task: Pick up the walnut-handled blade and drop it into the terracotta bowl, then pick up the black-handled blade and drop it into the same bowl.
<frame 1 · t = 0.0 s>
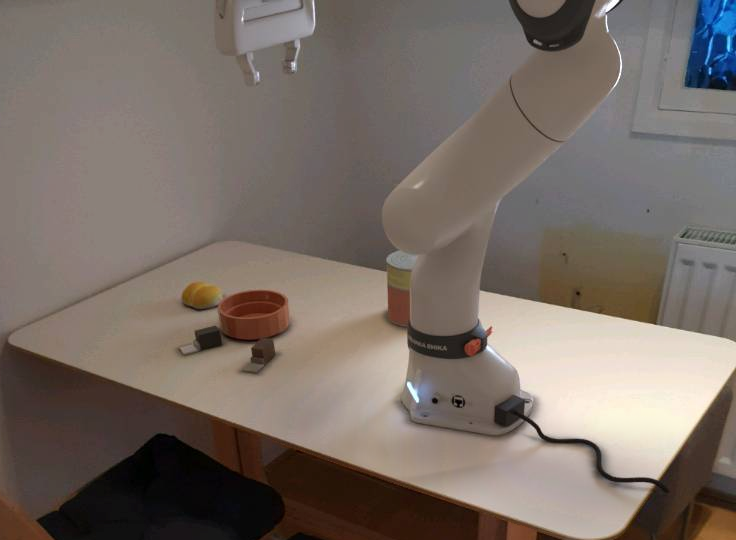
hand: (271, 79, 126), 48 cm above the table, tool pointing down, fingers open, 8 cm apart
bread roll: (203, 302, 180), on the table
walnut blade: (264, 358, 157), on the table
bowl: (255, 326, 168), on the table
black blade: (209, 345, 162), on the table
canned food: (415, 316, 169), on the table
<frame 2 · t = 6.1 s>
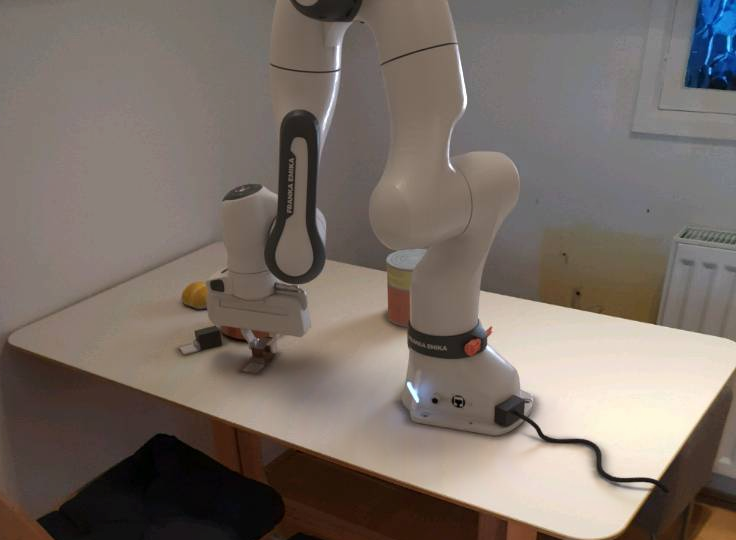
hand: (263, 350, 155), 2 cm above the table, tool pointing down, fingers closed on walnut blade, 2 cm apart
walnut blade: (264, 358, 157), on the table, touching gripper
everything else where it was.
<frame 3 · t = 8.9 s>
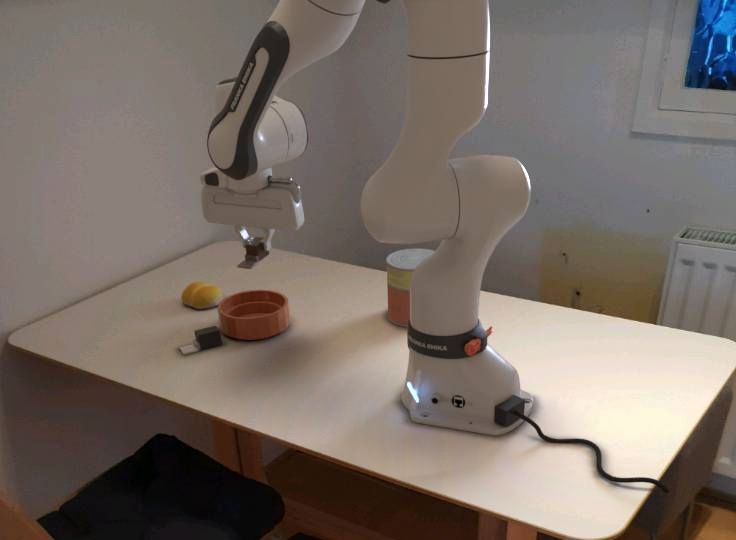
hand: (257, 248, 158), 16 cm above the table, tool pointing down, fingers closed on walnut blade, 2 cm apart
walnut blade: (258, 257, 159), point 14 cm above the table, touching gripper
everything else where it was.
when the fingers open (5 cm above the table, at t = 11.7 s): walnut blade drops 2 cm, resting on bowl.
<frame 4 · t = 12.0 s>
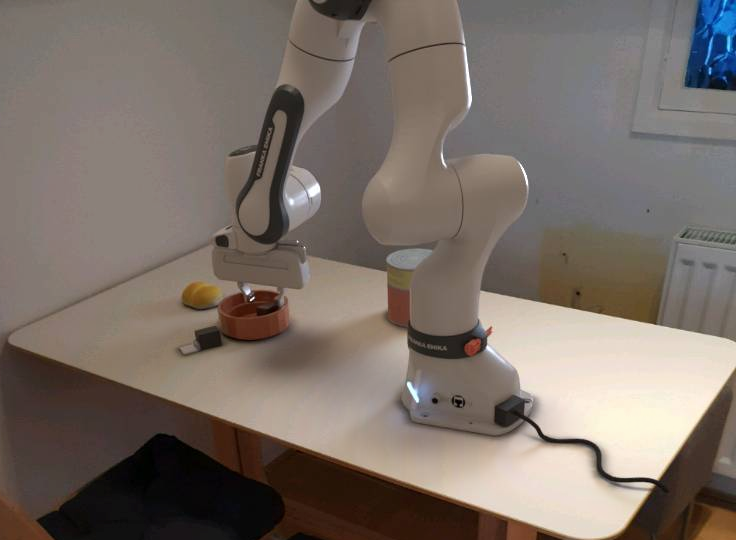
hand: (264, 303, 166), 5 cm above the table, tool pointing down, fingers open, 5 cm apart
walnut blade: (267, 320, 168), point 1 cm above the table, tilted 9°, touching bowl
everything else where it was.
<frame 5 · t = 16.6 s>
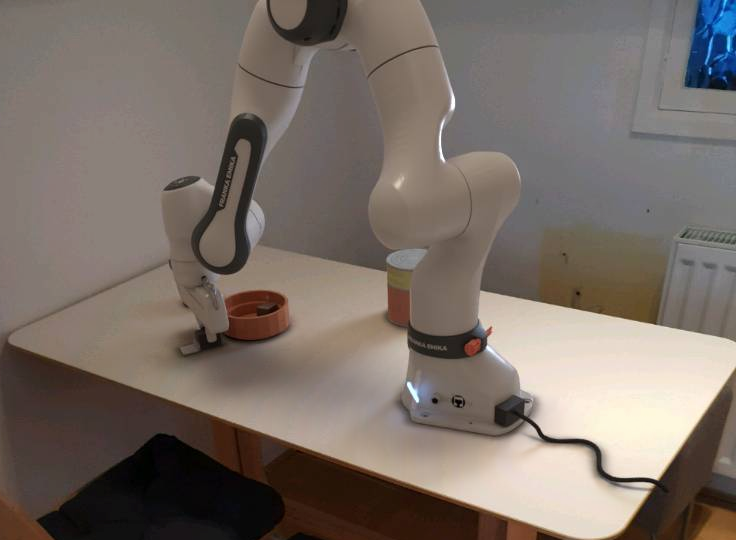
hand: (208, 336, 161), 2 cm above the table, tool pointing down, fingers closed on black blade, 2 cm apart
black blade: (209, 345, 162), on the table, touching gripper
everything else where it was.
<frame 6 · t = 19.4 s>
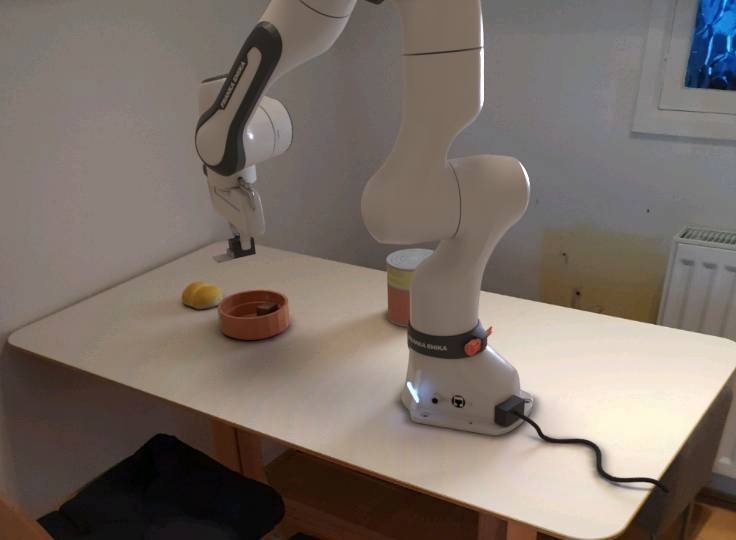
hand: (242, 245, 159), 16 cm above the table, tool pointing down, fingers closed on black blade, 2 cm apart
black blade: (243, 254, 160), point 15 cm above the table, touching gripper
everything else where it was.
when the fingers open (6 cm above the table, at t = 22.0 s): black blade stays where it is, resting on walnut blade.
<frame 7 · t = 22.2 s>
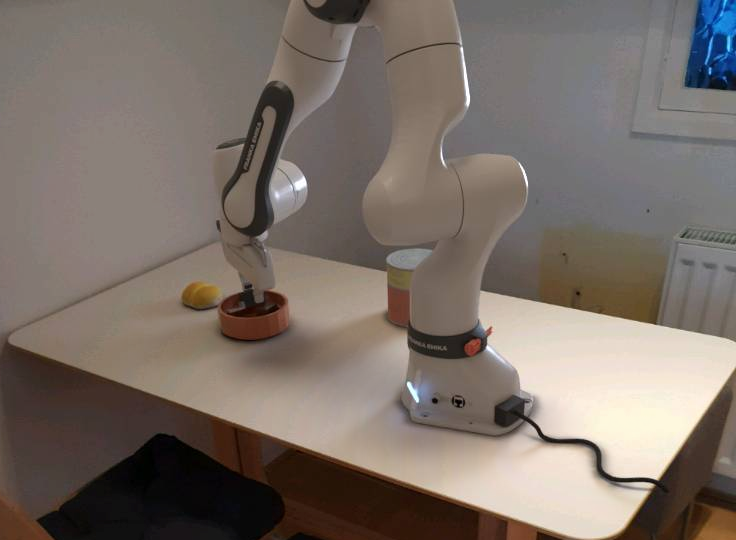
hand: (253, 296, 167), 5 cm above the table, tool pointing down, fingers open, 5 cm apart
walnut blade: (267, 321, 168), point 1 cm above the table, tilted 7°, touching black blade, bowl
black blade: (254, 305, 168), point 4 cm above the table, tilted 21°, touching gripper, walnut blade
everything else where it was.
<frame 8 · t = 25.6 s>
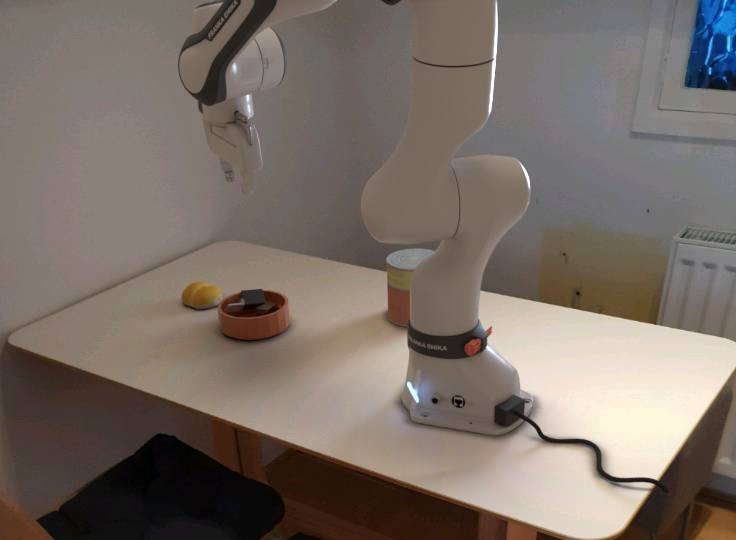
hand: (238, 187, 153), 27 cm above the table, tool pointing down, fingers open, 8 cm apart
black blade: (254, 306, 168), point 3 cm above the table, tilted 47°, touching bowl, walnut blade
everything else where it was.
at the end: walnut blade inside the target area in the bowl (2.6 cm from its centre), point 0.9 cm above the bowl's base; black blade inside the target area in the bowl (2.6 cm from its centre), point 3.2 cm above the bowl's base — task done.
